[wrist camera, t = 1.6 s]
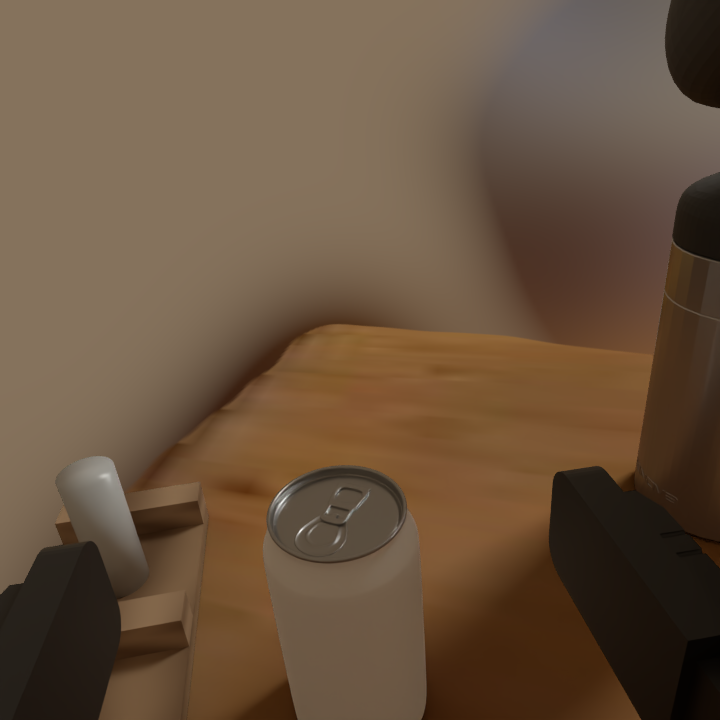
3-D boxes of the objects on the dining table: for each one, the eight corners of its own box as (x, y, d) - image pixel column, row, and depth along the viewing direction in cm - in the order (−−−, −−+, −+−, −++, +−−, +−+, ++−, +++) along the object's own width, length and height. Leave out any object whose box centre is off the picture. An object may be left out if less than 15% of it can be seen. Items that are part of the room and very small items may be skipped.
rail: (208, 515, 42) (200, 481, 41) (170, 872, 23) (152, 831, 22) (77, 537, 41) (63, 503, 40) (-72, 926, 22) (-107, 888, 21)
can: (270, 735, 28) (222, 544, 22) (331, 625, 33) (305, 447, 28) (399, 792, 25) (380, 591, 20) (444, 662, 30) (439, 475, 25)
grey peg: (152, 556, 37) (118, 452, 34) (144, 593, 35) (107, 485, 31) (103, 564, 37) (64, 460, 34) (91, 602, 34) (47, 494, 31)
